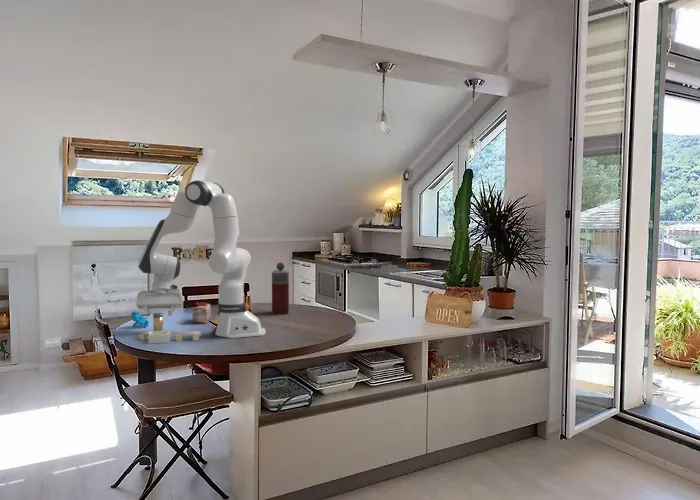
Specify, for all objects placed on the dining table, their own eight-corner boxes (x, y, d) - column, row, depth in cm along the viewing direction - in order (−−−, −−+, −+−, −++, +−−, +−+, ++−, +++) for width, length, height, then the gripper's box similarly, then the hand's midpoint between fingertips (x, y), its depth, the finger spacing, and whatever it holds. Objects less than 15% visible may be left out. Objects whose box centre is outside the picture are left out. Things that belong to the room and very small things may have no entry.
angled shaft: (152, 338, 232) (152, 331, 232) (147, 340, 229) (147, 332, 228) (145, 338, 233) (145, 330, 233) (139, 340, 230) (139, 332, 230)
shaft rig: (201, 336, 236) (201, 329, 236) (200, 341, 228) (200, 333, 228) (151, 339, 232) (151, 331, 232) (148, 343, 224) (148, 335, 224)
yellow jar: (163, 334, 241) (163, 312, 240) (162, 336, 237) (161, 314, 236) (154, 334, 240) (153, 313, 239) (152, 337, 236) (152, 314, 235)
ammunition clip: (252, 318, 279) (252, 295, 278) (251, 318, 277) (251, 296, 276) (232, 317, 279) (232, 295, 278) (231, 318, 277) (231, 295, 276)
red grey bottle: (289, 310, 300) (289, 261, 298) (288, 314, 289) (288, 263, 287) (273, 310, 299) (273, 261, 297) (272, 314, 288) (271, 263, 286)
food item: (208, 324, 264) (207, 304, 263) (191, 324, 263) (191, 304, 262) (212, 318, 277) (211, 299, 277) (196, 318, 276) (196, 300, 276)
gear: (141, 326, 250) (128, 310, 252) (132, 334, 251) (120, 318, 253) (154, 324, 261) (142, 309, 263) (146, 332, 262) (134, 317, 264)
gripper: (137, 287, 245) (133, 311, 236) (183, 286, 249) (181, 310, 240) (139, 295, 250) (135, 319, 241) (184, 294, 254) (182, 318, 245)
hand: (158, 315), depth 240 cm, fingers open, 8 cm apart
